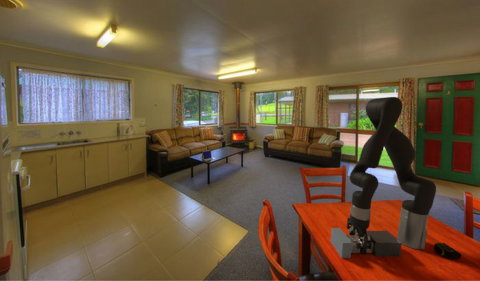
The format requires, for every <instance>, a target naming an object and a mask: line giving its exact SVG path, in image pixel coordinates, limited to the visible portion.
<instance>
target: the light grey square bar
mask: <svg viewBox="0 0 480 281" xmlns="http://www.w3.org/2000/svg"><path fill="white" fill-rule="evenodd" d="M345 235H346V236H347V237H348V239H349V240H350V241H351V242H352V250H351V254H361V253H360V246H361V244H360V241H359V240H358V237H357V235H356V234H355V235H349V234H348V235H347V234H345ZM360 238H361V239H364V238H363V237H360ZM362 242H363V244H364V241H362ZM374 251H375V242H374V241H373V240H372V246H371V249H367V251H366V254H374Z"/></svg>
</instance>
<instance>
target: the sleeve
mask: <svg viewBox="0 0 480 281" xmlns="http://www.w3.org/2000/svg"><path fill="white" fill-rule="evenodd" d="M366 232H367V234H368V235H371V236H372V240H373V241H374V242H375V251H374V253H373V255H374V257H386V258H387V257H388V258H389V257H392V258H393V257H397V258H398V257H399V258H400V257H401V253H402V246H403V244H402V243H401V242H400V241H399V240H398V239H397V237H395V236H394V235H393V234H392V233H391V232H389V231H388V230H366Z"/></svg>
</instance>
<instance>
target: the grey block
mask: <svg viewBox="0 0 480 281" xmlns="http://www.w3.org/2000/svg"><path fill="white" fill-rule="evenodd" d="M346 235H347V234H346V233H345V232H344V231H343V230H342V229H341V228H340V227H331V234H330V243H331V244H332V246H333V248H334V249H335V250H336V252H337V254H338V255H339V256H340V258H341V259H351V257H352V253H351V250H352V242H351V241H350V240H349V239H348V237H347V236H346Z"/></svg>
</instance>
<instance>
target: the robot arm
mask: <svg viewBox="0 0 480 281" xmlns="http://www.w3.org/2000/svg"><path fill="white" fill-rule="evenodd" d="M403 107H404V106H403V102H402V100H401V99H400V98H399V97H397V96H388V97H387V96H385V97H379V98H378V97H377V98H373V99H370V100H369V101H368V102H367V103H366V105H365V113H366V115H367V118H368V119H369V121H370V122H371V124H372V125H373V127H374V129H375V131H374V132H373V133H372V135H371V136H370V137H369V138H368V139H367V140H366V142H365V143H364V144H363V146H362V149H361V153H360V154H359V159H358V161H357V162H356V164H355V166H354V167H353V169H352V171H351V172H350V174H349V181H350V183H351V184H353V185H354V186H356V187H359V188H361V189H362V190H355V191H353V192H352V196H351V197H352V198H351V205H350V212H349V217H348V218H347V220H346V229H347V231H348V233H349V234H348V235H357V237H358V240H359V241H360V244H361V246H360V253H359V254H361V255H366V254H367V253H366V251H367V249H371V246H372V236H371V235H368V234H367V232H366V231H367V229H369V228H370V223H371V214H372V211H371V206H372V199H373V197H374V195H375V193H376V190H377V189H378V187H379V179H378V177H377V176H376V175H374V174H372V173H368V172H367V170H368V169H377V168H378V167H379V164H380V161H381V158H382V154H383V151H384V149H385V153H386V154H387V156H388V158H389V159H390V162H391V164H392V168H394V171H395V174H396V178H397V180H398V181H397V182H398V185H399V187H400V188H401V190H402V191H403V192H405V193H406V194H409V195H411V196H413V197H414V198H413V199H405V200H403V201H402V202H401V206H400V207H401V209H400V215H399V222H398V229H397V234H396V235H397V236H396V238H397V239H398V240H399V241H400V242H401V243H402V245H404V246H406V247H408V248H411V249H415V250H424V251H425V247H426V242H427V235H428V230H427V225H428V220H429V214H430V211H431V209H432V208H433V204H434V200H435V196H436V192H437V186H436V184H435V182H434V181H432V180H430V179H427V178H425V177H424V178H423V177H422V176H418V175H416V174H415V172H414V171H413V168H412V164H413V162H414V161H415V158H416V150H415V148H414V145H413V143H412V141H411V139H410V138H409V137H408V136H407V135H406V134H405V133H403V132H402V131H401V130H400V129H398V127H396V124H397V122H398V120H399V118H400V117H401V114H402V111H403ZM360 237H363V238H364V239H361V238H360ZM362 241H364V244H363V242H362Z"/></svg>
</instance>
